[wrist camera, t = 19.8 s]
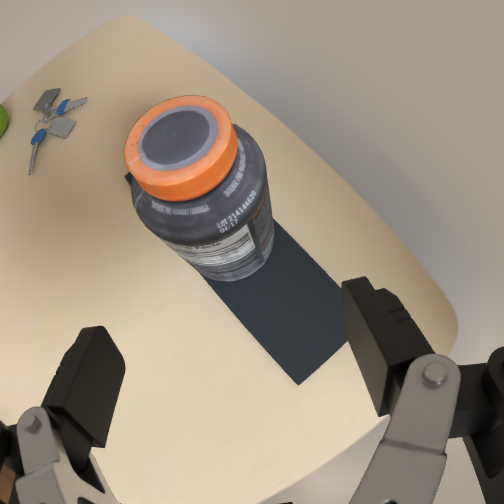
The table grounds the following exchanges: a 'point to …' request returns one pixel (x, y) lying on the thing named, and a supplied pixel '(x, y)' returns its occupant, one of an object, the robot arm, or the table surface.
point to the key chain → (59, 124)
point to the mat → (288, 307)
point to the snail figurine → (3, 119)
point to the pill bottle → (201, 186)
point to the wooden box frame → (6, 483)
